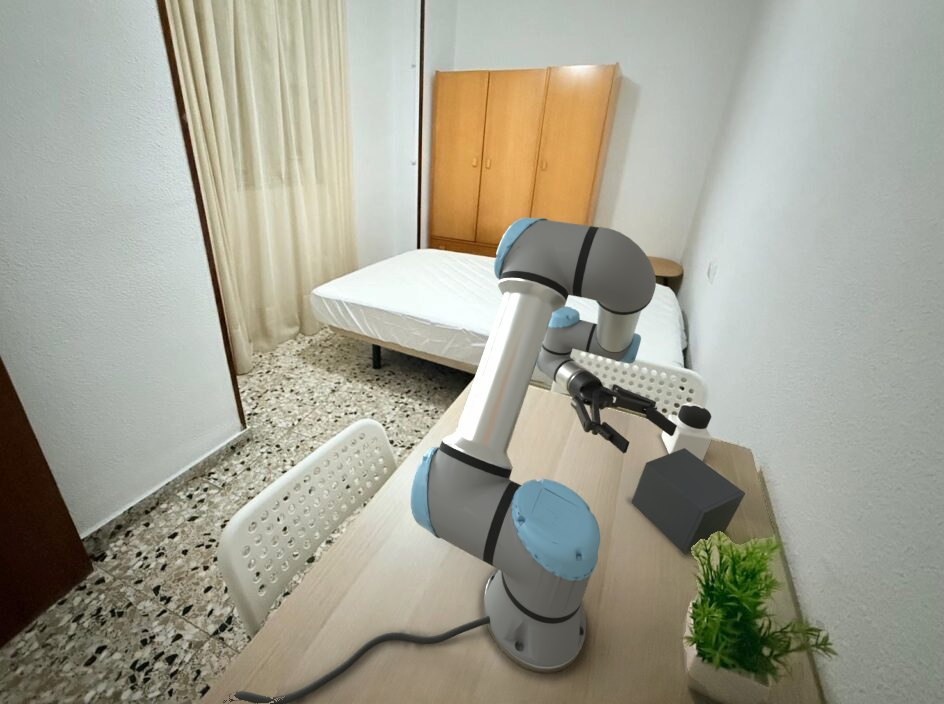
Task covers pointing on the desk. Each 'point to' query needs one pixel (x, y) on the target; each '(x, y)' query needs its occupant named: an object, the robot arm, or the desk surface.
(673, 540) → the dark grey cube box
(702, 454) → the medicine bottle
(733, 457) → the desk surface
